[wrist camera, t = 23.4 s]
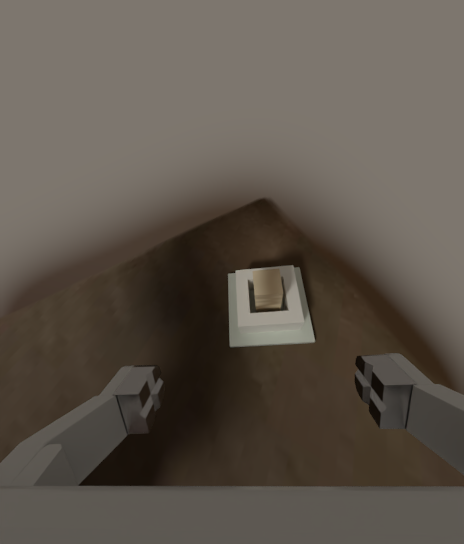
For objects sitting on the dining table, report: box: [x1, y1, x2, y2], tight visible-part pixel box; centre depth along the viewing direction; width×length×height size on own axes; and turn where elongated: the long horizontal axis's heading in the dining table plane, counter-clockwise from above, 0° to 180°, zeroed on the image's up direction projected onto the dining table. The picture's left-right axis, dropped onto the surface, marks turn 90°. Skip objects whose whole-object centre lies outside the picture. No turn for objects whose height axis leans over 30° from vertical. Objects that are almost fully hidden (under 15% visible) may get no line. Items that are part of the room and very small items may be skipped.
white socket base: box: [228, 265, 315, 347], centre depth 37 cm, size 14×14×6 cm
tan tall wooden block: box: [253, 269, 283, 313], centre depth 35 cm, size 4×4×9 cm
